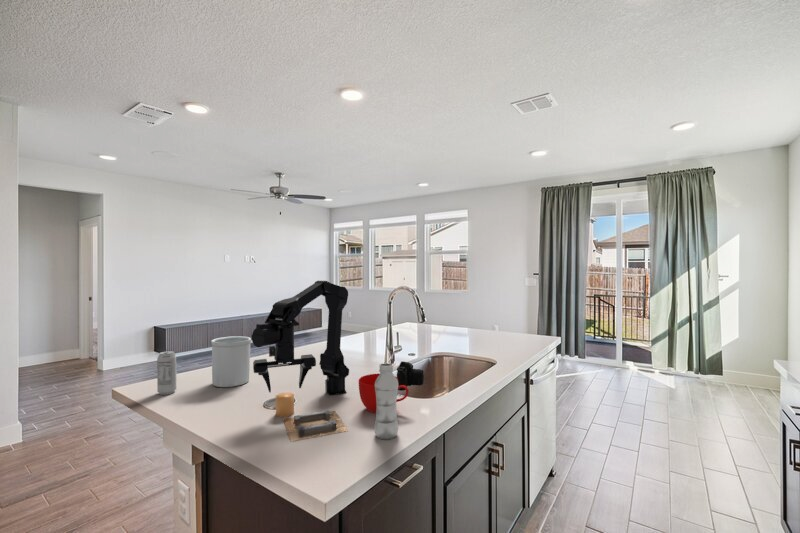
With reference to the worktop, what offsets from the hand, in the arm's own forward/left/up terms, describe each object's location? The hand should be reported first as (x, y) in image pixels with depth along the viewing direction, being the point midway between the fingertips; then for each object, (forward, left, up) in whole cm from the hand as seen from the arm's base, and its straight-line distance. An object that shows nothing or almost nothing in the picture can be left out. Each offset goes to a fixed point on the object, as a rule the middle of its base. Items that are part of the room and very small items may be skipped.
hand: (285, 390), depth 119 cm
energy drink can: (+38, -39, -8) cm, 55 cm away
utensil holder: (+16, -43, -8) cm, 46 cm away
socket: (-7, +13, -8) cm, 17 cm away
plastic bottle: (-24, +28, -8) cm, 38 cm away
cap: (0, 0, -8) cm, 8 cm away
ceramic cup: (-30, +10, -8) cm, 33 cm away
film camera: (-49, -9, -8) cm, 50 cm away
